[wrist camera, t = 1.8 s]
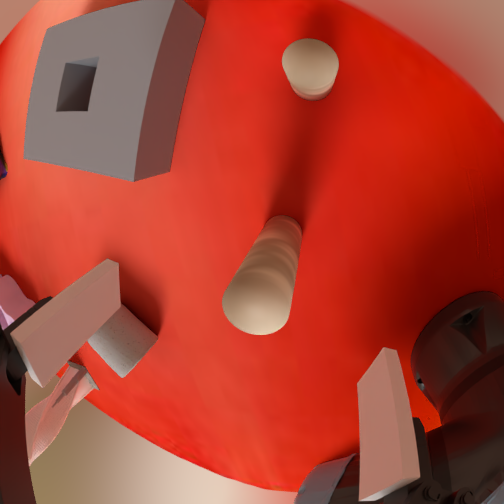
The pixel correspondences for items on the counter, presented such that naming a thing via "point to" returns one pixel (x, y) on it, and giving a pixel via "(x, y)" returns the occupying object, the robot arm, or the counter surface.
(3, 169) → the food package
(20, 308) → the clip
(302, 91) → the short pin
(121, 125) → the hole block
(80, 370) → the skyscraper
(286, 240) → the long pin
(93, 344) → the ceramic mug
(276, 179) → the counter surface
